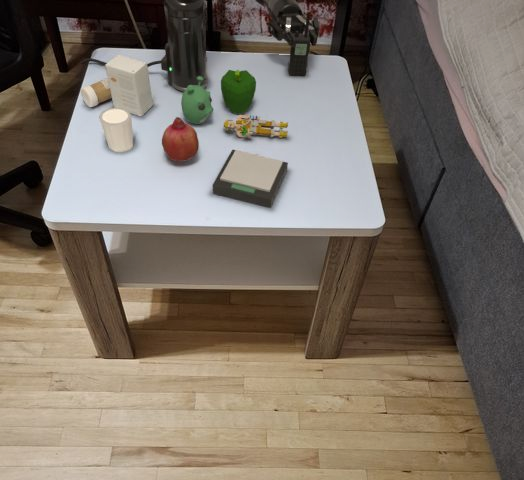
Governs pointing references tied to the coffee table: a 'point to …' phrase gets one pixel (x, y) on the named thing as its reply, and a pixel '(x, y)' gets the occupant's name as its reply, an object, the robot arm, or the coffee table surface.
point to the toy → (254, 127)
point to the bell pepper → (238, 90)
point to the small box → (129, 84)
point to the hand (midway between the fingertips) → (304, 42)
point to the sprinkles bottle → (96, 93)
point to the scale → (250, 178)
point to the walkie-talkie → (300, 52)
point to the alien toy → (196, 103)
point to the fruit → (180, 141)
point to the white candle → (117, 128)
